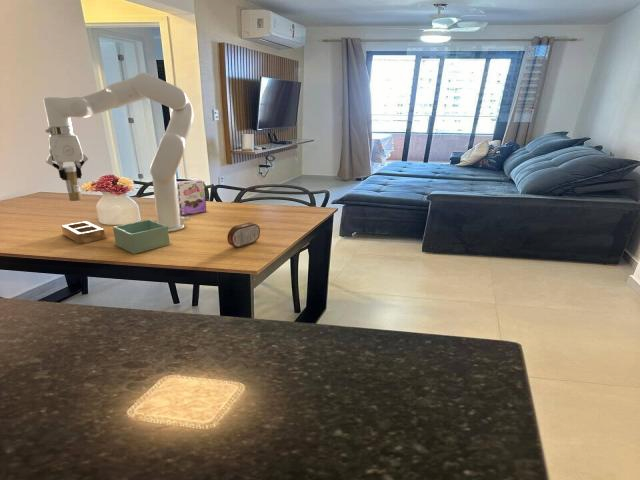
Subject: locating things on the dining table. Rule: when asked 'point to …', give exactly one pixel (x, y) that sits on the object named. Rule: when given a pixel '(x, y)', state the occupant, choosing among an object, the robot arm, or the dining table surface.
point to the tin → (243, 234)
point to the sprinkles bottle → (72, 183)
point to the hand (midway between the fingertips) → (71, 178)
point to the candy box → (191, 197)
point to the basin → (141, 236)
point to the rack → (83, 232)
